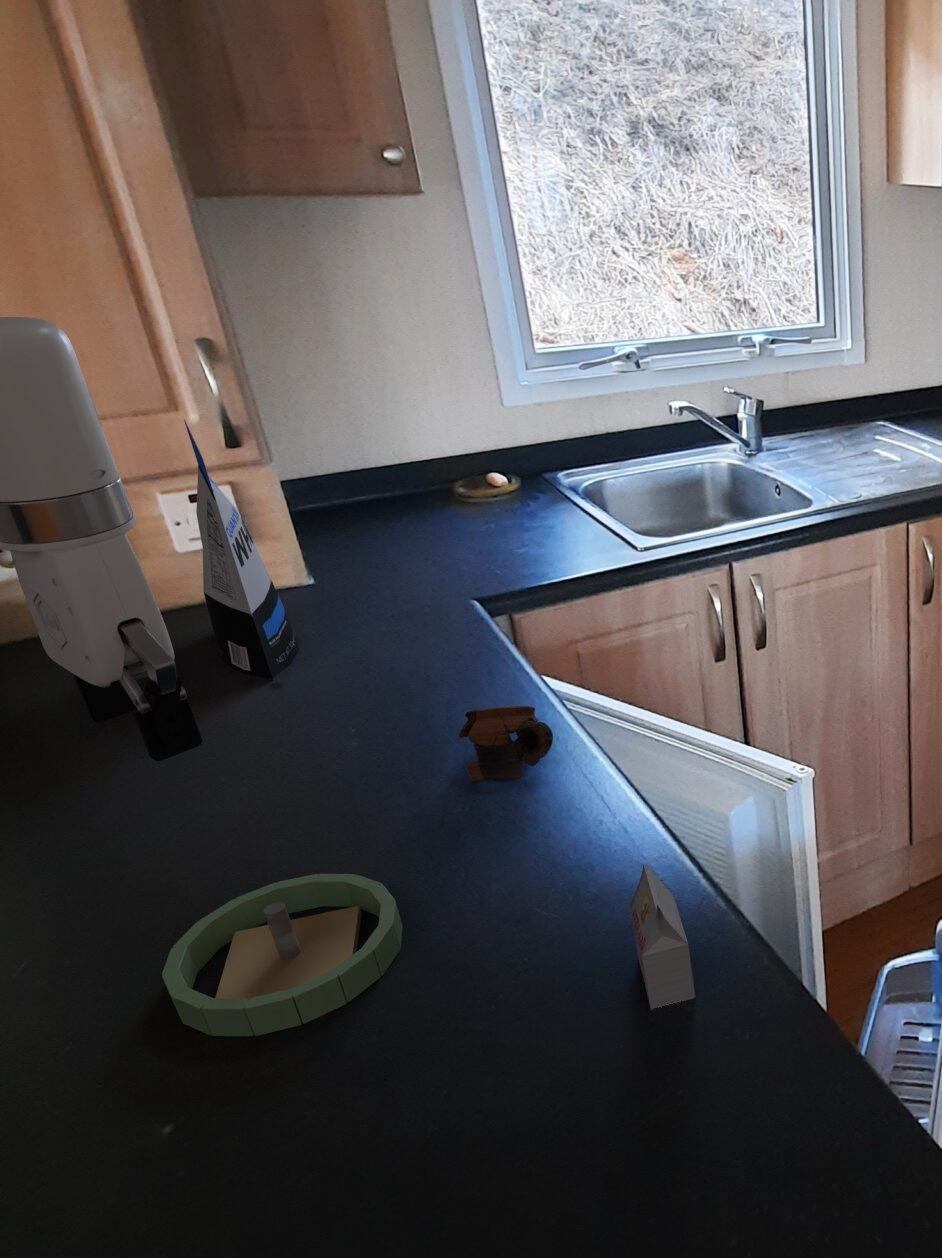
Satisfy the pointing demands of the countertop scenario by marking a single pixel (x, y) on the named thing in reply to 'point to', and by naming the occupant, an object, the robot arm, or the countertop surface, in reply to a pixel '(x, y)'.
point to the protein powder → (239, 587)
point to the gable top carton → (661, 943)
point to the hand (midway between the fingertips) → (147, 732)
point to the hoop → (302, 999)
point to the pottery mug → (505, 741)
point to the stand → (288, 951)
